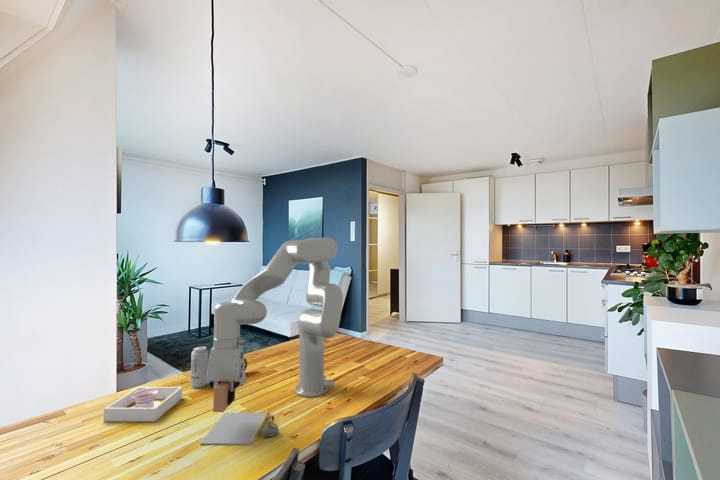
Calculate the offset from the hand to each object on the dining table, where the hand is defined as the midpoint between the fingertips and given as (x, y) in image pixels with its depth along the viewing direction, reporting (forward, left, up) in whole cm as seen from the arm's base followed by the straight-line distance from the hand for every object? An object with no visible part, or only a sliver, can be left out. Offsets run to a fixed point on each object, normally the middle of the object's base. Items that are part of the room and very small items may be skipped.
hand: (224, 402), depth 99 cm
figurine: (-15, +3, -8) cm, 18 cm away
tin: (+15, -41, -8) cm, 45 cm away
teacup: (+31, -11, -8) cm, 34 cm away
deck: (0, 0, -1) cm, 1 cm away
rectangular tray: (+32, -12, -8) cm, 35 cm away
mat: (-4, 0, -8) cm, 9 cm away
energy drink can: (+23, -31, -8) cm, 39 cm away
